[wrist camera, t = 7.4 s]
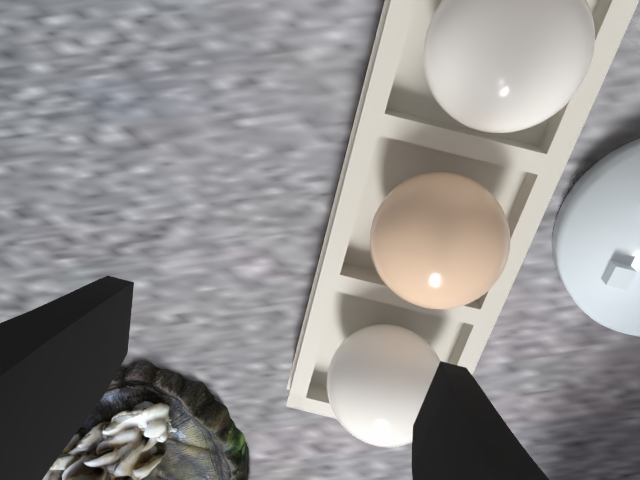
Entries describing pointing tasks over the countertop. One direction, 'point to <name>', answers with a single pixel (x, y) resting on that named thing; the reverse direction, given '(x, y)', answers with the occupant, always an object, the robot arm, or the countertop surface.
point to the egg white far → (381, 383)
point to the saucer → (603, 240)
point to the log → (154, 433)
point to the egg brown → (439, 240)
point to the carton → (420, 158)
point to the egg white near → (507, 59)
